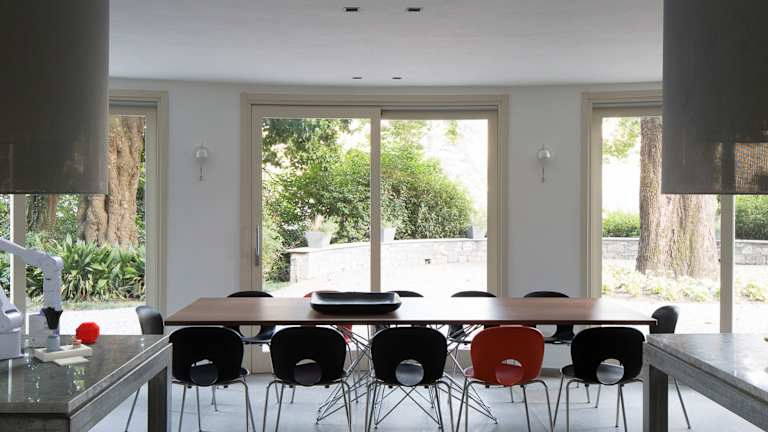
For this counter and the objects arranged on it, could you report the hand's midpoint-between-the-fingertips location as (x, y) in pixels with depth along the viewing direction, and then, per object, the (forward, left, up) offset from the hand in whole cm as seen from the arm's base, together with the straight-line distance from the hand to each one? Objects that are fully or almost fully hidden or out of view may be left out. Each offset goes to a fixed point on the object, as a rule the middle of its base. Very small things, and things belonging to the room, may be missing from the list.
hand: (52, 329), depth 254 cm
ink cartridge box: (+4, +24, -10) cm, 26 cm away
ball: (+19, +21, -10) cm, 30 cm away
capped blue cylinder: (0, 0, -10) cm, 10 cm away
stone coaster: (+3, -11, -10) cm, 15 cm away
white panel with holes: (+4, 0, -10) cm, 11 cm away
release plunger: (+8, 0, -9) cm, 12 cm away
